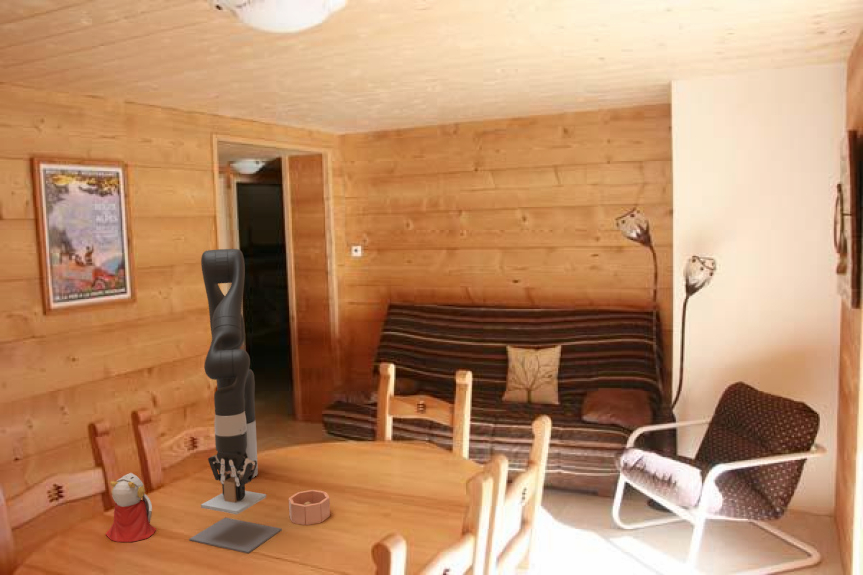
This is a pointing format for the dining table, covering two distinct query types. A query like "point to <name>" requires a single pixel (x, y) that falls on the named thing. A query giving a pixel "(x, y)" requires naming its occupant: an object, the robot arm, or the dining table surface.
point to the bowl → (309, 507)
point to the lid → (232, 499)
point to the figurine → (130, 511)
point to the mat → (236, 535)
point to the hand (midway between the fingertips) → (234, 497)
